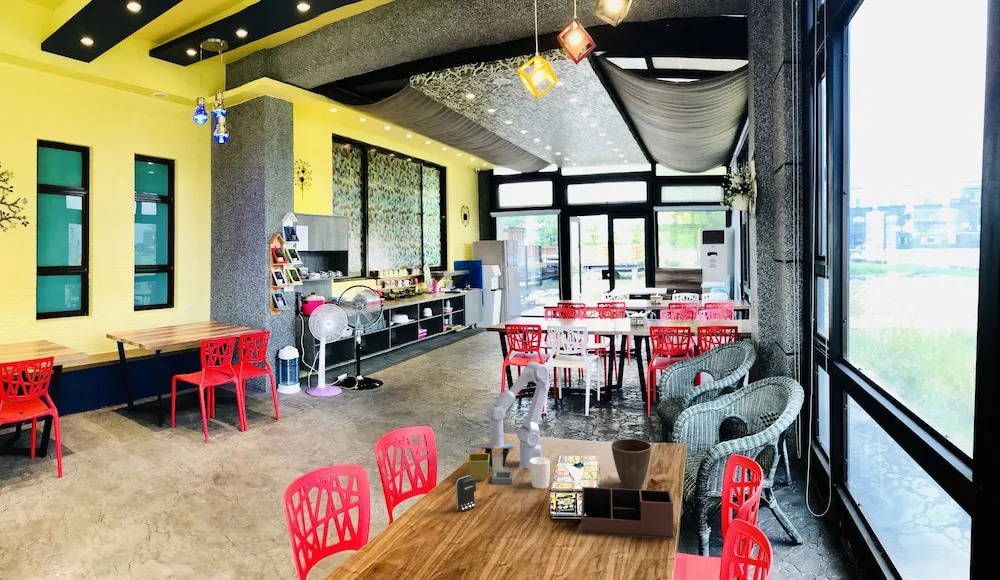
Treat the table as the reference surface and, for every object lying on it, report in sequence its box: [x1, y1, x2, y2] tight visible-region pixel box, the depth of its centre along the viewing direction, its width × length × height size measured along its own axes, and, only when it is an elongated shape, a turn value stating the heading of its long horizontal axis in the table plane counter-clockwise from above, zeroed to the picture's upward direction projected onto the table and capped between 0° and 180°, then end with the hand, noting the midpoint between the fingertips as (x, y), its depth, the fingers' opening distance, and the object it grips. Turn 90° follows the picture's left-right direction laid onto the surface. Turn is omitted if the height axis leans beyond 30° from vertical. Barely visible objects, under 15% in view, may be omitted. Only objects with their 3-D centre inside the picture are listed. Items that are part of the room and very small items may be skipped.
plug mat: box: [488, 465, 510, 474], centre depth 235 cm, size 9×8×1 cm
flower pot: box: [466, 452, 490, 482], centre depth 226 cm, size 9×9×9 cm
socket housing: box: [491, 470, 515, 485], centre depth 223 cm, size 8×8×3 cm
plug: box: [492, 453, 503, 472], centre depth 234 cm, size 4×4×6 cm
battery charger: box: [455, 474, 477, 513], centre depth 198 cm, size 7×4×11 cm, turn 126°
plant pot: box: [611, 438, 652, 490], centre depth 214 cm, size 15×15×16 cm
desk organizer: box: [579, 486, 676, 539], centre depth 181 cm, size 10×29×11 cm, turn 79°
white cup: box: [529, 456, 551, 489], centre depth 217 cm, size 8×8×10 cm
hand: (497, 466), depth 234 cm, fingers open, 5 cm apart
